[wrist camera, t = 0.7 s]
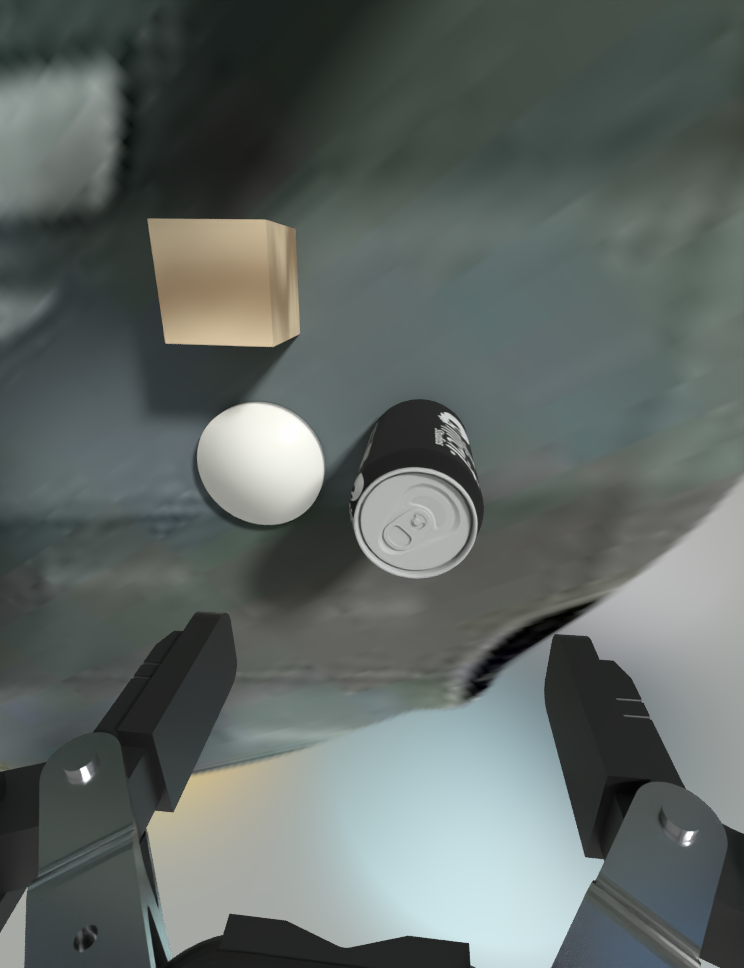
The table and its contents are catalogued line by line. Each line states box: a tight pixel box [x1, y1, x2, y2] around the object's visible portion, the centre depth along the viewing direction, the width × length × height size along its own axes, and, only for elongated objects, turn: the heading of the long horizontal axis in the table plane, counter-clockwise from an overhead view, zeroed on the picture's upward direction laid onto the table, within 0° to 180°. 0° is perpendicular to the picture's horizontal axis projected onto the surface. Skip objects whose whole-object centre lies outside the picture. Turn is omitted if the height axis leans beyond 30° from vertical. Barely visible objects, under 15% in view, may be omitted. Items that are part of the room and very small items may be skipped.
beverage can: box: [349, 399, 484, 578], centre depth 28 cm, size 7×7×12 cm
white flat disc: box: [197, 401, 326, 525], centre depth 35 cm, size 9×9×1 cm
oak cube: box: [147, 219, 300, 347], centre depth 28 cm, size 6×6×6 cm
